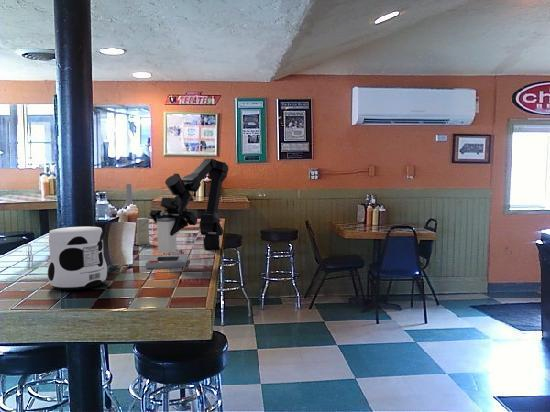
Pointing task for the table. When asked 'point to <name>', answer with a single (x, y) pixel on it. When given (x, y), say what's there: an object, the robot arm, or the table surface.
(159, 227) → the plug
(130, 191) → the bottle
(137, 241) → the skincare box
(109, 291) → the table surface
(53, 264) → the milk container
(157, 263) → the socket plate
